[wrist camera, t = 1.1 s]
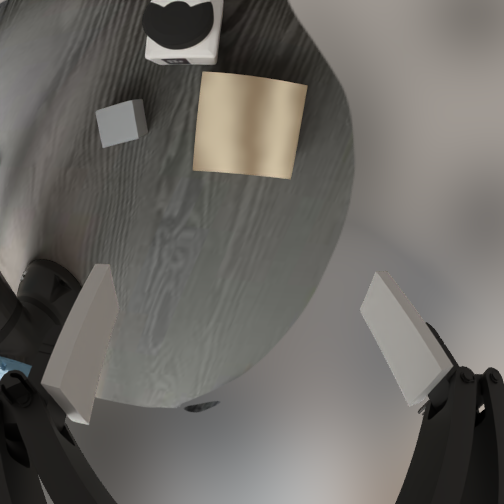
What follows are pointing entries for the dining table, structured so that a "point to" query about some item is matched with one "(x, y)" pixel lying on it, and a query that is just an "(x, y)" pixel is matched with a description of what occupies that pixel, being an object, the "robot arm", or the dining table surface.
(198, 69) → the dining table surface
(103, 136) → the slate cube
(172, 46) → the container
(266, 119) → the maple block
